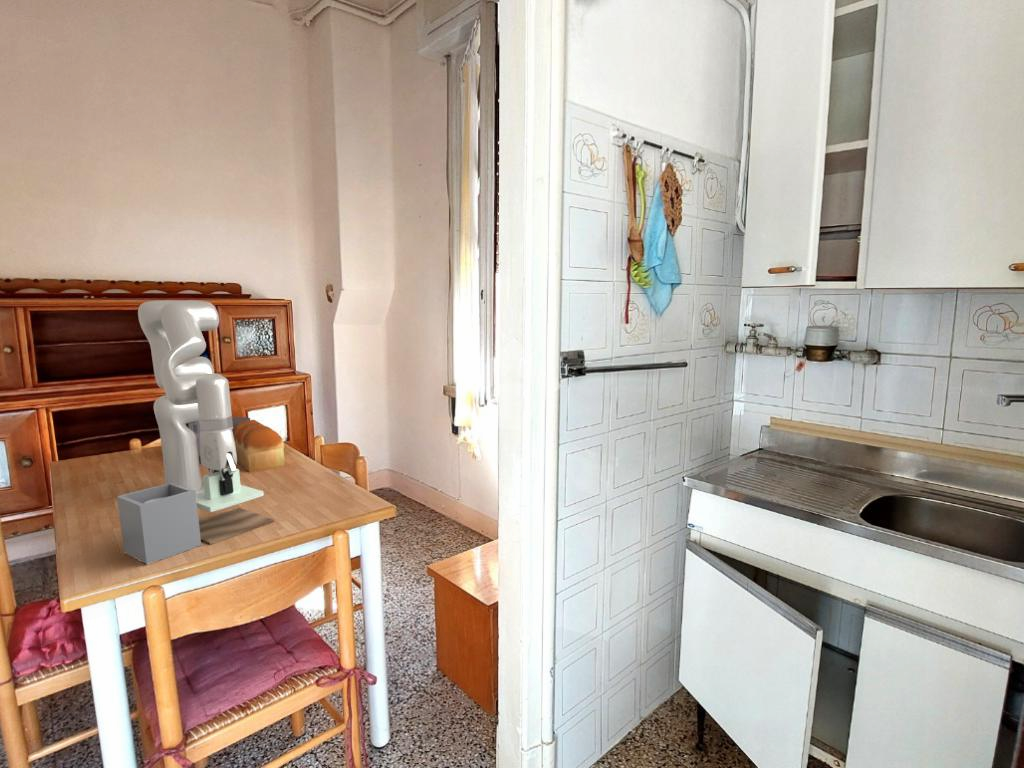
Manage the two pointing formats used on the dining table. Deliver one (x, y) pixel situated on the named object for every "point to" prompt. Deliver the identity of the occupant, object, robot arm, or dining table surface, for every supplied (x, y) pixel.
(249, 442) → the bread
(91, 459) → the dining table surface
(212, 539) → the walnut board
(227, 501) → the box lid
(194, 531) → the storage box
